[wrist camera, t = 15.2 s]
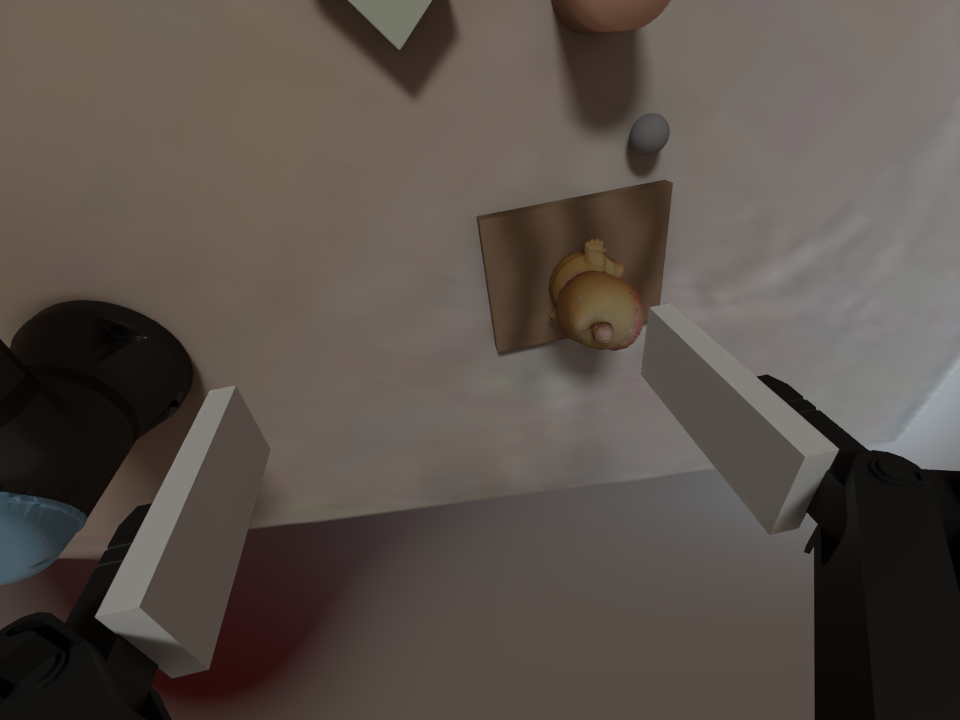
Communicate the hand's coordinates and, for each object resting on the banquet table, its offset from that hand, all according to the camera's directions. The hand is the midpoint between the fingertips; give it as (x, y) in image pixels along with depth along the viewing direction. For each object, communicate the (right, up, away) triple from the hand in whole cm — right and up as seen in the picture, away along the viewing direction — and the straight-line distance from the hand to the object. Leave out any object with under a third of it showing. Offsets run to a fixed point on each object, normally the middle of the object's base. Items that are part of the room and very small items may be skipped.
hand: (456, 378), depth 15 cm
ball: (+16, +23, +29) cm, 40 cm away
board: (+11, +11, +36) cm, 39 cm away
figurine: (+11, +10, +35) cm, 38 cm away
